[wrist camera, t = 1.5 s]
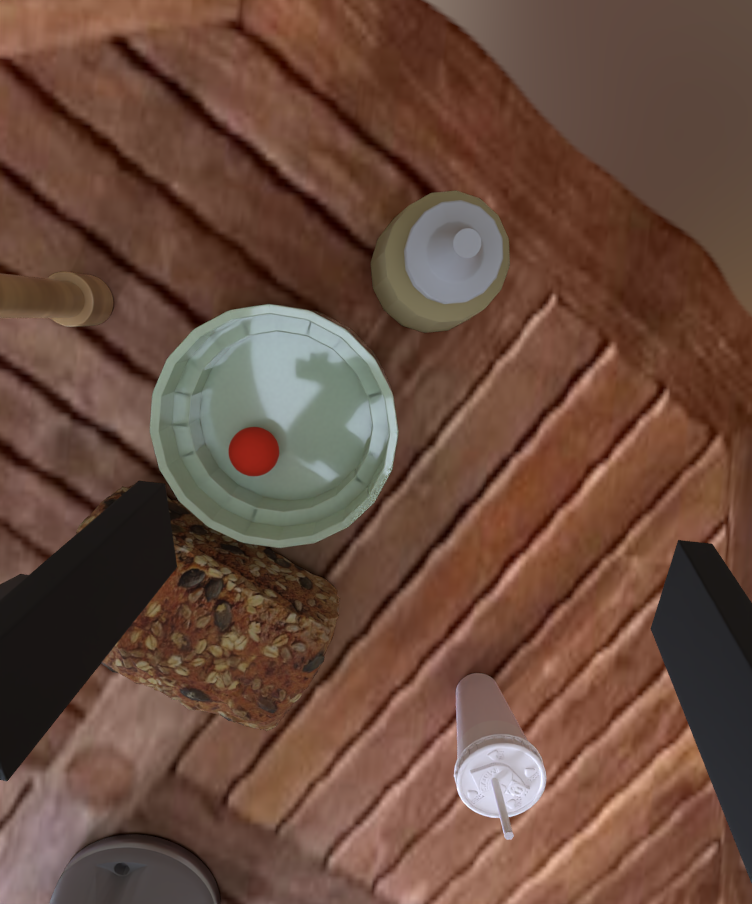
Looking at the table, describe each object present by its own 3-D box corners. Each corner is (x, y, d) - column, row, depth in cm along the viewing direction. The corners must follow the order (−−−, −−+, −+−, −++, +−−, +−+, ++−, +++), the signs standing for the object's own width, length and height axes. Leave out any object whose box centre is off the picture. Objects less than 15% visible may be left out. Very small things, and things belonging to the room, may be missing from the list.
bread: (346, 580, 46) (338, 651, 36) (284, 678, 48) (261, 770, 39) (138, 468, 44) (71, 513, 34) (83, 577, 46) (5, 647, 36)
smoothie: (458, 648, 48) (492, 782, 34) (526, 674, 48) (586, 815, 35) (428, 709, 49) (448, 861, 35) (494, 732, 50) (540, 891, 36)
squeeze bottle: (474, 336, 41) (547, 353, 24) (365, 325, 41) (358, 333, 24) (491, 220, 40) (583, 146, 22) (376, 207, 39) (379, 122, 22)
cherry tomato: (260, 478, 43) (250, 492, 40) (225, 445, 43) (212, 457, 39) (292, 446, 43) (285, 457, 39) (257, 412, 42) (246, 421, 38)
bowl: (292, 555, 46) (280, 591, 40) (137, 415, 43) (99, 431, 37) (438, 417, 43) (448, 433, 37) (282, 258, 40) (266, 248, 34)
